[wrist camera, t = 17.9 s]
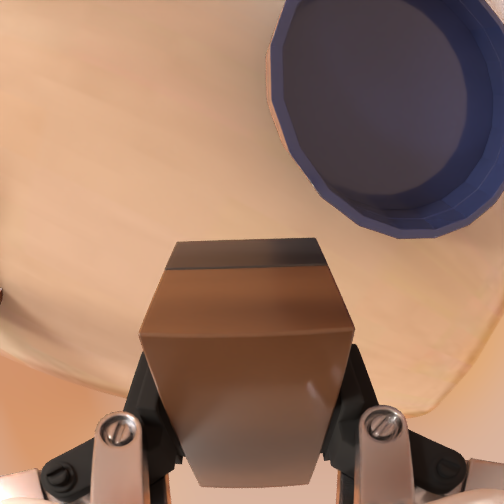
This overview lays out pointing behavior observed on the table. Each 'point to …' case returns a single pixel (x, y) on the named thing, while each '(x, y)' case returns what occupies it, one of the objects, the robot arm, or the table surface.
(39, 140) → the table surface
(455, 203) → the bowl
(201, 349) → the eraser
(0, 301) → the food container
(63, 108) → the table surface
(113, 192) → the table surface
